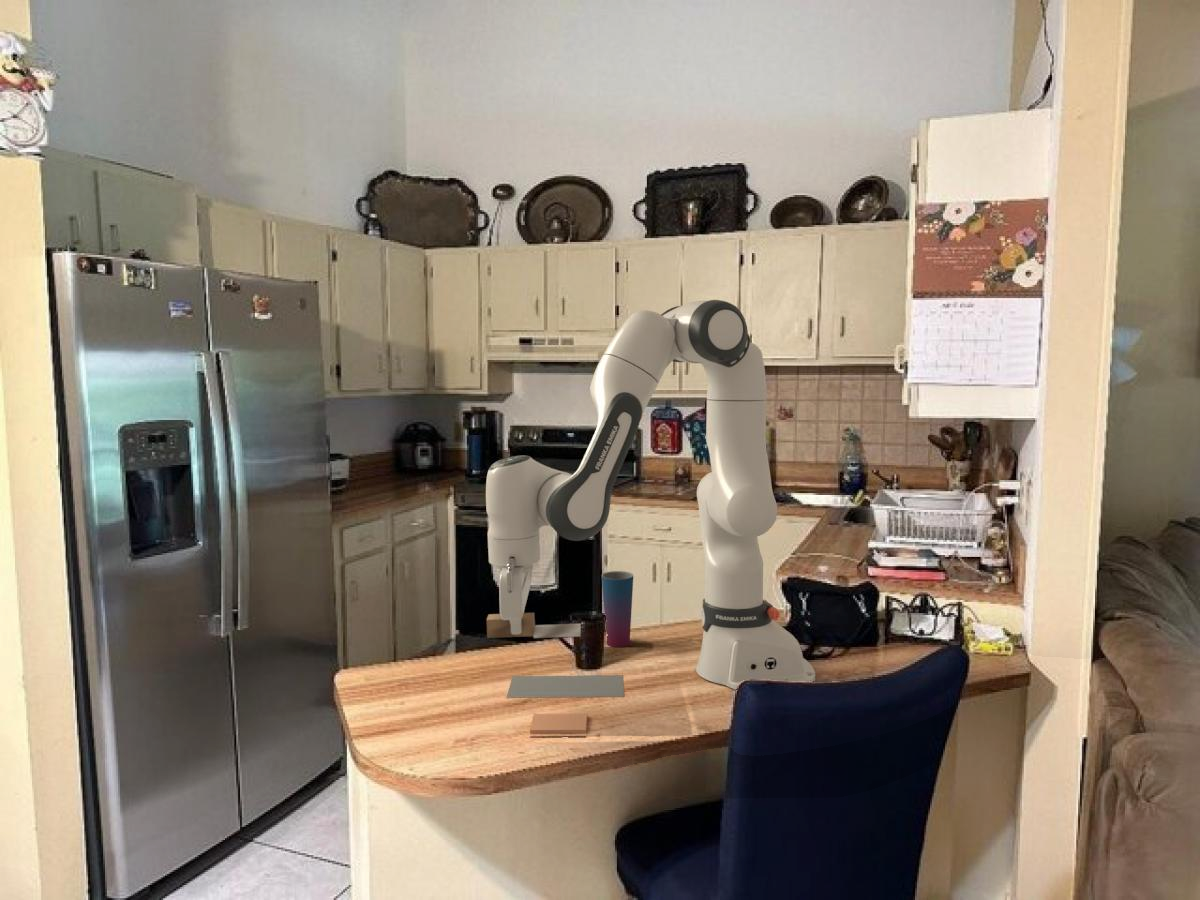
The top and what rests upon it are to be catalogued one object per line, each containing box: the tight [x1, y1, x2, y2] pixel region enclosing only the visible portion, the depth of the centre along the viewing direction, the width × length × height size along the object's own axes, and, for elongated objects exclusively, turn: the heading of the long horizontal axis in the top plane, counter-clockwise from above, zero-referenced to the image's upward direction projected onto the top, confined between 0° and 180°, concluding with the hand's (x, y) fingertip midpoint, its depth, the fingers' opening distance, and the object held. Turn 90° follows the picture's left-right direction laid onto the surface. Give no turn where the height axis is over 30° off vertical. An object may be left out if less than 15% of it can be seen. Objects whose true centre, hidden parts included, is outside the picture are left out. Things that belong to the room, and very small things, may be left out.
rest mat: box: [506, 674, 625, 699], centre depth 150 cm, size 21×10×1 cm, turn 90°
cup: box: [601, 570, 634, 648], centre depth 174 cm, size 7×7×15 cm
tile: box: [529, 713, 588, 739], centre depth 134 cm, size 2×6×9 cm
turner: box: [486, 612, 582, 639], centre depth 141 cm, size 16×5×3 cm, turn 91°
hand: (517, 628), depth 141 cm, fingers closed on turner, 3 cm apart
